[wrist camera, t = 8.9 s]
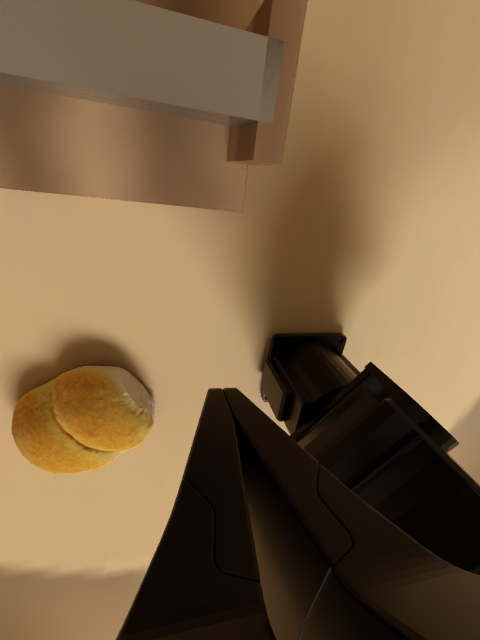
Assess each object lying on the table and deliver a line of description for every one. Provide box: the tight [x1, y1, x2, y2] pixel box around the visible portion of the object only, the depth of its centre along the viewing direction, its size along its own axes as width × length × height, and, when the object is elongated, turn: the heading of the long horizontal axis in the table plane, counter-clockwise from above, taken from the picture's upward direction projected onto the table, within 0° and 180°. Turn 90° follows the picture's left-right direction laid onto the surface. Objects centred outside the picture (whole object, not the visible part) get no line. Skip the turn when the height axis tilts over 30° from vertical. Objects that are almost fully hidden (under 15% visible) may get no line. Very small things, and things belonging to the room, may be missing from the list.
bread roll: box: [12, 366, 155, 474], centre depth 21 cm, size 8×9×4 cm
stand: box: [0, 0, 308, 212], centre depth 11 cm, size 20×10×6 cm, turn 82°
